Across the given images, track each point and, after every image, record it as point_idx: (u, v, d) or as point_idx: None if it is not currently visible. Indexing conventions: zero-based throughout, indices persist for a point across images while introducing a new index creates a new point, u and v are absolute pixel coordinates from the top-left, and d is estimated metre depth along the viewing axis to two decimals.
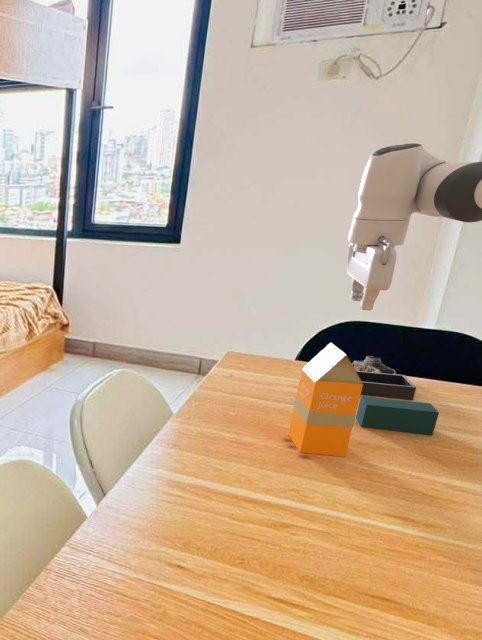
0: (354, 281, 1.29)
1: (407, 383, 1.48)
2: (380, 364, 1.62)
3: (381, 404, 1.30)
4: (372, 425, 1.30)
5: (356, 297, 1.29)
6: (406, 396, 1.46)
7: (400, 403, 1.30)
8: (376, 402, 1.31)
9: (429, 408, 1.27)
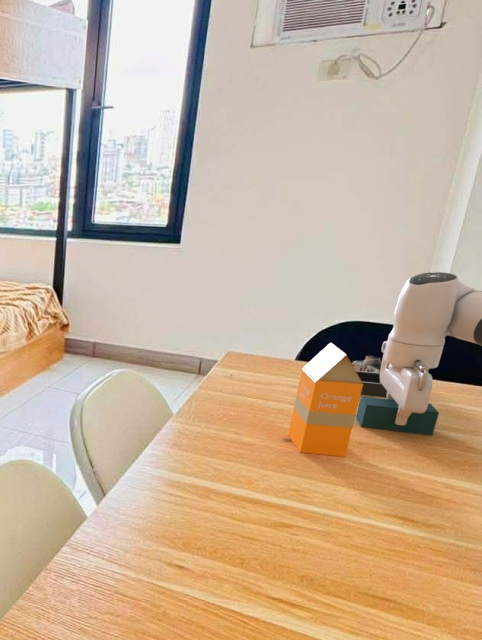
0: (389, 394, 1.33)
1: None
2: (380, 364, 1.62)
3: (381, 404, 1.30)
4: (372, 425, 1.30)
5: None
6: None
7: None
8: (376, 403, 1.30)
9: (429, 408, 1.27)
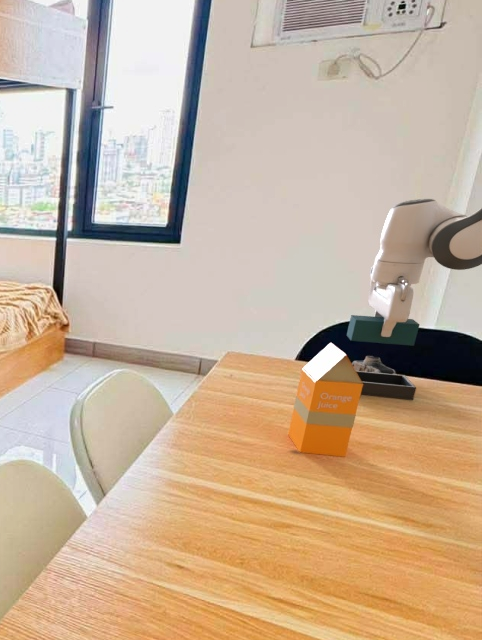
0: (376, 313, 1.49)
1: (407, 383, 1.48)
2: (380, 364, 1.62)
3: (368, 319, 1.46)
4: (361, 339, 1.47)
5: None
6: (406, 396, 1.46)
7: None
8: (364, 318, 1.47)
9: (411, 321, 1.44)
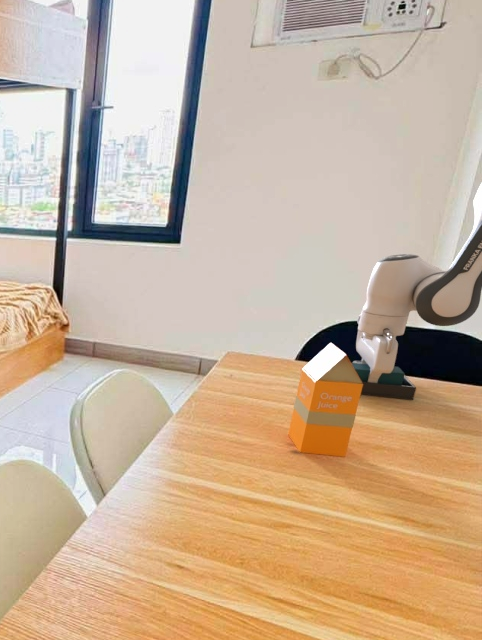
0: (363, 360, 1.54)
1: (407, 383, 1.48)
2: None
3: (356, 367, 1.51)
4: None
5: None
6: (406, 396, 1.46)
7: None
8: None
9: (396, 370, 1.48)
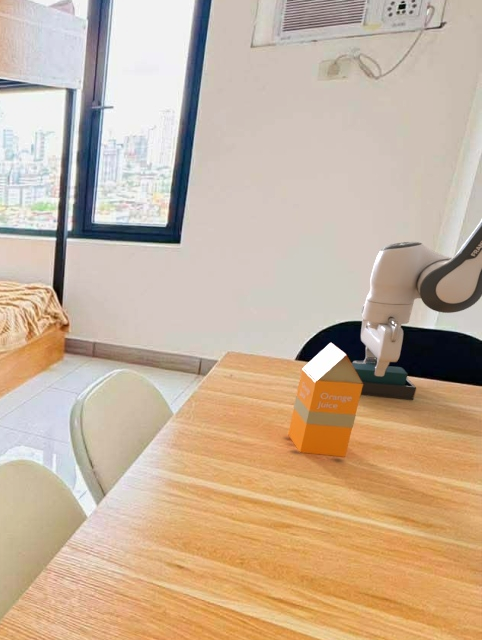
0: (367, 348, 1.54)
1: (407, 383, 1.48)
2: None
3: (358, 368, 1.50)
4: None
5: (369, 362, 1.54)
6: (406, 396, 1.46)
7: None
8: (355, 366, 1.51)
9: (399, 370, 1.48)
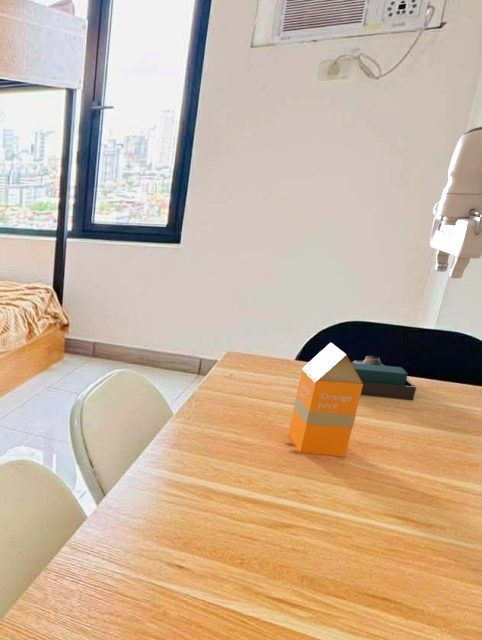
0: (439, 253, 1.39)
1: (407, 383, 1.48)
2: (380, 364, 1.62)
3: (358, 368, 1.50)
4: None
5: (441, 268, 1.39)
6: (406, 396, 1.46)
7: (375, 367, 1.51)
8: (355, 366, 1.51)
9: (399, 370, 1.48)
